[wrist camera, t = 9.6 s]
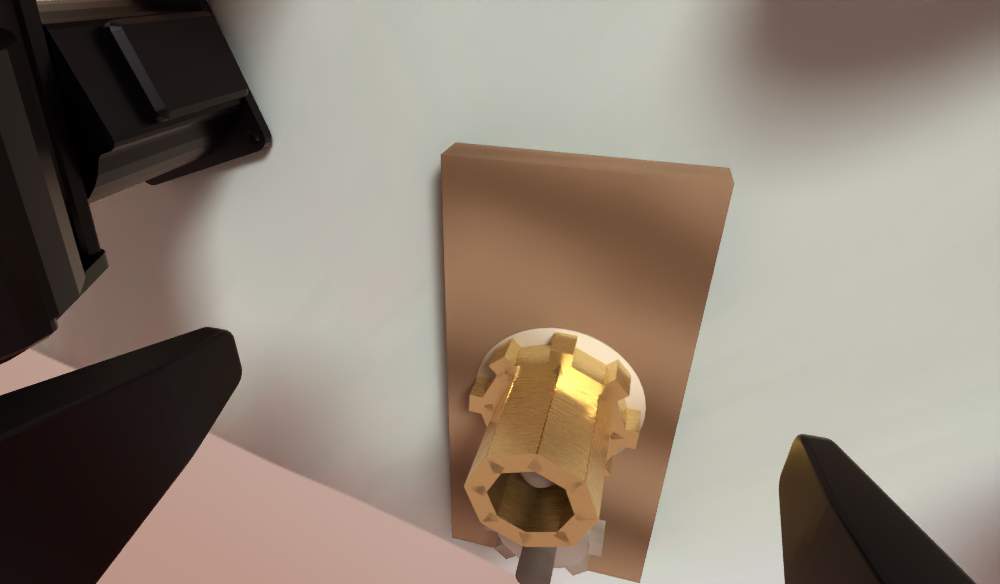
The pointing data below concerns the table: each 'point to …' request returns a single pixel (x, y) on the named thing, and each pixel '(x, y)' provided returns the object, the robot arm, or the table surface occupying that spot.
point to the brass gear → (548, 439)
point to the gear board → (578, 312)
